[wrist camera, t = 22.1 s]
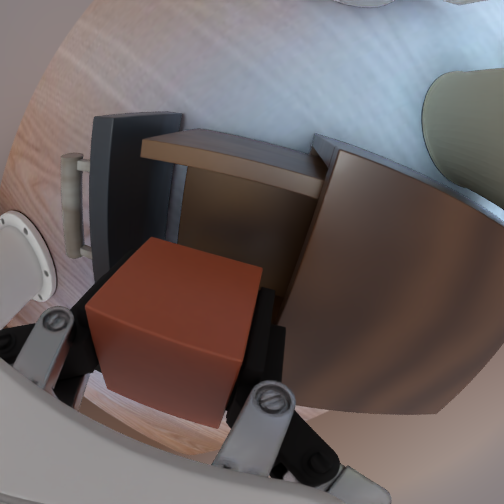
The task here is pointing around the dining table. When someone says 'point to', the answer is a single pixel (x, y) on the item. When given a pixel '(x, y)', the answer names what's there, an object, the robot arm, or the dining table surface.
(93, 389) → the dining table surface
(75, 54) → the dining table surface
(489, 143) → the can
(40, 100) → the dining table surface
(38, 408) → the robot arm
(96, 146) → the drawer
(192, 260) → the block
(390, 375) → the cabinet
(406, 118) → the dining table surface
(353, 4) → the cup
